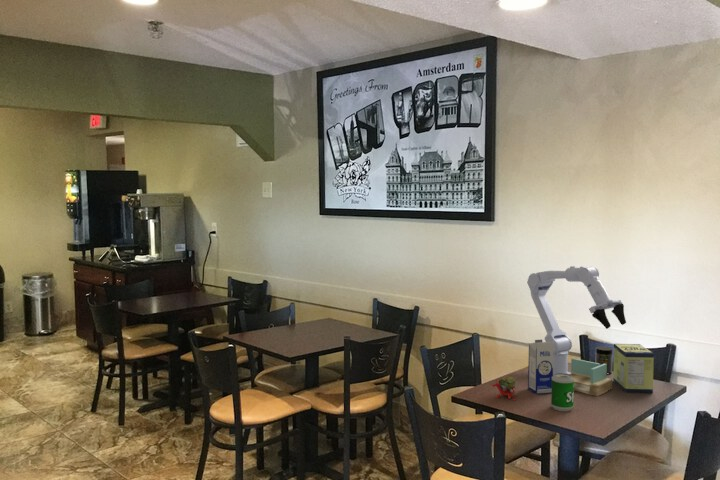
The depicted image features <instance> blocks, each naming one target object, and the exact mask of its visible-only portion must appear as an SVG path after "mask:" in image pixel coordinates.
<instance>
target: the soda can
mask: <svg viewBox="0 0 720 480" xmlns="http://www.w3.org/2000/svg"><path fill="white" fill-rule="evenodd" d="M574 392H575V391H574V378H573V377H572V376H571V375H570V374H566V373H556V374H554V375H553V376H552V388H551V393H550V395H551V396H550V397H551V399H550V401H551V403H550V406H551V407H552V408H553V409H554V410H556V411H558V412H570V411H572V409H574V400H575V399H574V398H575V395H574V394H575V393H574Z"/></svg>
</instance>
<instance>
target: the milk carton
mask: <svg viewBox="0 0 720 480" xmlns="http://www.w3.org/2000/svg"><path fill="white" fill-rule="evenodd" d="M553 343H554V342H546V341H543V339H534V342H530V343H528V365H527V366H528V375H527V380H528V381H527V389H528V390H529V391H530V392H532V393H534V394H535V395H543V394H551V388H552V376H554V375H553Z"/></svg>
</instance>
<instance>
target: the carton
mask: <svg viewBox="0 0 720 480" xmlns="http://www.w3.org/2000/svg"><path fill="white" fill-rule="evenodd" d="M570 375H571V376H572V377H573V378H574V392H575V391H576V392H579V393H584V394H587V395H591V396H595V397H599V396H601V395H602V394H605V393H607V392H609V391H611V390H612V389H613V379H612V380H611V381H609V382H607V383H605V384H602V385H600V386H594V385H590V383H591V378H589V377H585V376H580V375H576V374H571V373H570ZM610 389H611V390H610ZM608 390H609V391H608Z"/></svg>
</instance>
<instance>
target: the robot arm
mask: <svg viewBox="0 0 720 480" xmlns="http://www.w3.org/2000/svg"><path fill="white" fill-rule="evenodd" d="M560 279H562V280H563V279H565V280H566V281H567V282H570V283H571V282H574V283H575V282H576V283H578V282H579V283H580V282H581V283H583V284H584V285H583V286H585V287H586V289H587V290H588V292H589V294H590V297H591V298H592V300H593V302H594V304H595V305H593V306H591V307H589V308H588V311H589V312H590V314H591V316H592V318H594V319H595V320H597V321H598V322H599V323H601V325H603V326H604V327H605V329H610V328H611V323H610V321H609V319H608V317H607V315H606V310H609V309H612V310H611V313H612V314H613V315H614V316H615V317H616V319H617V320H618V322H619V323H620V324H621V325H622V326H623V325H625V324H626V323H627V321H626V316H625V312H624V311H625V309H624V307H625V306H624V304H623V302H622V300H620V299H619V300H618V299H617V300H613V299H611V297H610V295H609V294H608V293H607V290H606V288H605V287H604V285H603V284H602V282H601V280H600V271H599V270H598V268H597V267H594V266H589V267H587V266H586V267H585V266H584V265H583V266H579V267H576V266H574V265H571V266H570V267H567V268H566V269H565V270H546V271H540V272H539V271H538V272H536V273H535V272H534V273H533V272H532V273H530V274H529V276H528V278H527V282H526V283H527V285H528V289H529V291H530V296H531V299H532V302H533V304H534V305H535V308H536V310H537V312H538V315H539V318H540V319H541V322H542V324H543V327H544V329H545V331H546V335H545V336H544V340H545V341H544V342H554V343H553V376H554V374H556V373H566V374H570V373H571V371H568V367H569V366H568V362H569V360H568V359H569V358H568V355H569V353H570V351H571V349H572V347H573V342H572V340H571V338H570V337H569V336H568V334H567V333H566V332H565V331H564V330H562V329H561V328H560V326H559V325H558V323H557V320H556V318H555V315H554V312H553V311H552V308H551V307H550V304H549V301H548V300H547V297H546V294H547V293H548V292H549V290H550V288H551V287H552V286H553V284H554V282H555V281H556V280H560Z"/></svg>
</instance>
